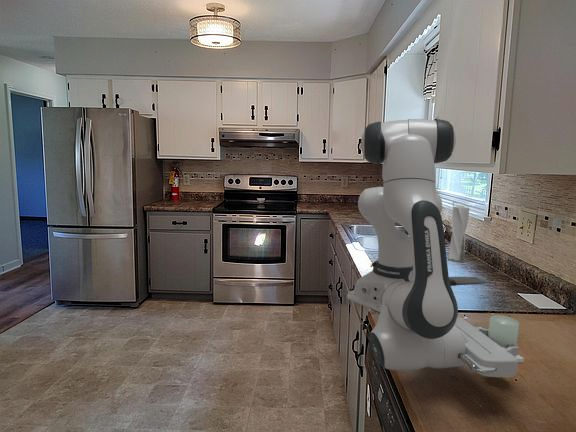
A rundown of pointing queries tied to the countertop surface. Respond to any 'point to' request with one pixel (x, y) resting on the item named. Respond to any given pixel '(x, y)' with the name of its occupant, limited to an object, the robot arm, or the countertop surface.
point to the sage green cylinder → (503, 330)
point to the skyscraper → (458, 233)
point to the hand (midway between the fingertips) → (505, 341)
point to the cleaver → (465, 280)
